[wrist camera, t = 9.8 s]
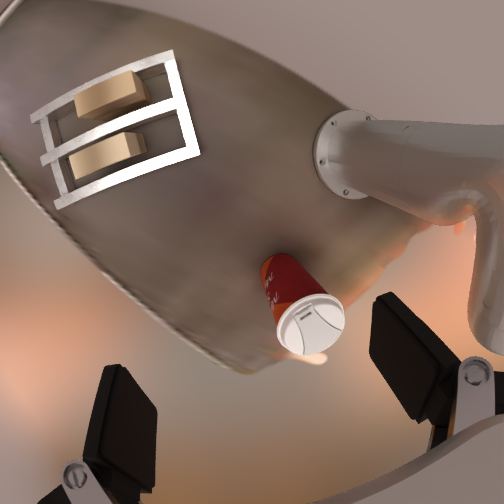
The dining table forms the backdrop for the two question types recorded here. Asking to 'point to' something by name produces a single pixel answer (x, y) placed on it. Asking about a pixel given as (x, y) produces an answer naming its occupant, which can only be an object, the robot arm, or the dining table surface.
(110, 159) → the beech board
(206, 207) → the dining table surface
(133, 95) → the oak board
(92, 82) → the rack
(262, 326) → the dining table surface
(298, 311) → the paper cup
